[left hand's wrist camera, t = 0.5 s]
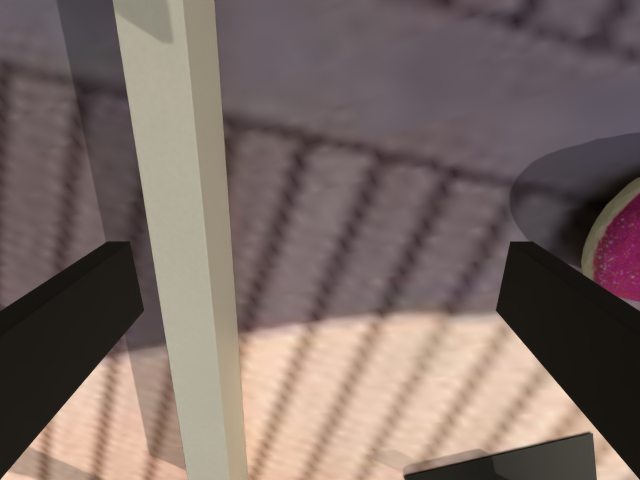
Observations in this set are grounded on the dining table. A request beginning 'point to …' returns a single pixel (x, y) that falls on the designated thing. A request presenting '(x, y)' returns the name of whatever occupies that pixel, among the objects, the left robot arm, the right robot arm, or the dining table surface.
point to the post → (188, 219)
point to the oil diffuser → (527, 464)
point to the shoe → (616, 245)
